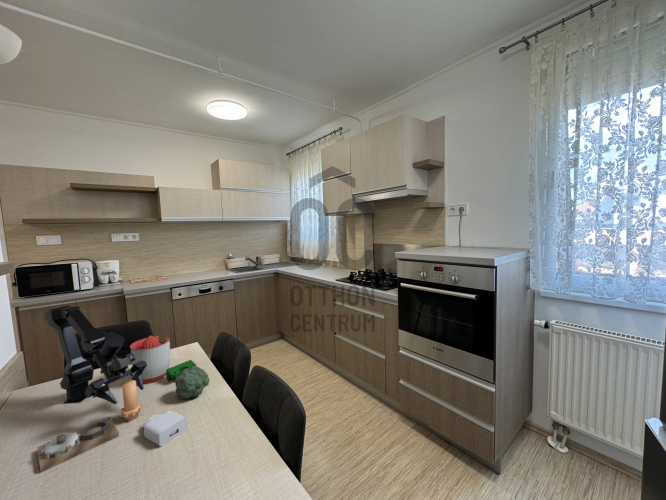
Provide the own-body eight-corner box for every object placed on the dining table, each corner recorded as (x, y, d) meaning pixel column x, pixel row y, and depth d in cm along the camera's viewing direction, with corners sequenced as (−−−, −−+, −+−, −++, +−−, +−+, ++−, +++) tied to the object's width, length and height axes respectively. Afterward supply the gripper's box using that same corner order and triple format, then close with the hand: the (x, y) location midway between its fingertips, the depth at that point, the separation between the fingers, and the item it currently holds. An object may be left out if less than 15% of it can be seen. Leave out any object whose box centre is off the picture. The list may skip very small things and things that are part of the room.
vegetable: (219, 377, 125) (209, 378, 111) (197, 403, 120) (184, 408, 106) (199, 360, 126) (187, 359, 113) (177, 385, 122) (161, 388, 108)
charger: (161, 416, 102) (187, 429, 95) (134, 432, 94) (160, 448, 87) (161, 404, 102) (186, 416, 95) (133, 419, 94) (159, 433, 87)
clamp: (176, 391, 126) (169, 378, 121) (169, 384, 129) (162, 372, 125) (200, 371, 134) (194, 359, 129) (193, 365, 137) (187, 353, 133)
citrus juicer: (182, 368, 138) (179, 329, 136) (152, 388, 121) (149, 343, 120) (156, 365, 141) (153, 327, 140) (123, 384, 125) (120, 341, 123)
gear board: (40, 472, 79) (39, 456, 78) (37, 451, 87) (36, 436, 86) (118, 436, 93) (117, 421, 92) (110, 420, 100) (109, 407, 100)
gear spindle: (116, 424, 98) (113, 388, 98) (128, 412, 105) (125, 378, 104) (135, 422, 99) (133, 387, 98) (146, 410, 106) (144, 377, 105)
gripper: (86, 360, 94) (110, 398, 90) (142, 340, 111) (163, 371, 108) (75, 379, 97) (97, 416, 94) (131, 356, 114) (151, 387, 111)
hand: (130, 396), depth 101 cm, fingers open, 9 cm apart
